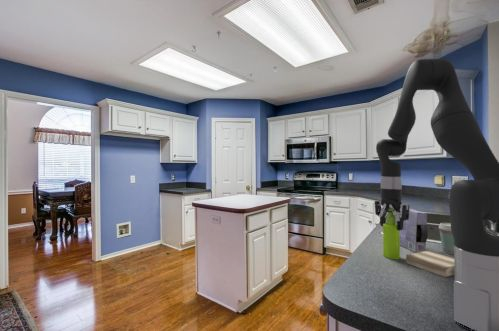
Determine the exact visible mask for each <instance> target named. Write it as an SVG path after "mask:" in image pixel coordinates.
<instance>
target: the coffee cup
mask: <svg viewBox="0 0 499 331" xmlns="http://www.w3.org/2000/svg"><path fill="white" fill-rule="evenodd" d="M438 230H439V236H440V241H441V249H442V252H443V253H444V254H448V255H453V256H454V238H453V235H452V231H451V222H440V223H439V226H438Z"/></svg>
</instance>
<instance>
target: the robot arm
mask: <svg viewBox="0 0 499 331" xmlns="http://www.w3.org/2000/svg"><path fill="white" fill-rule="evenodd" d="M406 72H407V73H406V75H405V77H404V82H403V85H402V89H401V93H400V97H399V100H398V104H397V107H396V108H397V109H396V112H395V114H394V117H393V120H392V122H391V124H390V126H389V128H388V132H387V135H388V137H389V138H390V139H389V138H388V139H387V138H382V139H380V140H378V142H377V143H376V146H375V150H376V154H377V157H378V161H379V164H380V169H381V170H380V174H381V175H380V198H381V200H375V201H374V213H375V215H376V216H378V217H379V224H380V227H383V223H386V216H387V215H388V214H389V212H391V213H393V214H394V215H395V216H396V218H397V220H398V221H397V230H399V231H400V230H402V229H403V221H404V220H408V219H409V209H411V208H410V205H409V204H404V203H402V200H403V198H402V197H403V193H402V192H403V190H402V189H403V187H402V186H403V185H402V184H403V183H402V181H403V180H402V166H401V163H400V162H396V161H393V160H391V159H390V157H400V156H403V155H404V154H405V153H406V151H407V150H406V149H407V142H408V139H409V135H410V133H411V132H412V129H413V128H414V125H415V124H416V120H417V118H416V117H417V115H416V110H415V107H414V103H413V102H414V97H415V94H416V93H417V91H434V92H435V93H436V95H437V97H438V98H437V99H438V104H437V106H436V107H435V109H434V111H433V113H432V115H431V118H430V126H431V127H430V128H431V130H432V133H433V135H434V138H435V141H436V142H437V143H438V144H437V145H439V147H440V148H441V149H443V151H445V152H446V153H448V155H450V156H451V157H452V158H454V159H455V160H456V161H458V162H459V163H460V164H462V165H463V166H464V167H465V168H466V170H467V171H468V173H470V175H471V177H472V179H461V180H457V181H455V182H454V183H453V184H452V185H451V187H450V190H449V194H448V204H449V206H448V207H449V216H450V217H449V219H450V223H451V231H452V235H453V238H454V255H453V256H454V257H453V258H454V275H453V277H454V281H453V321H454V320H455V321H457V322H459V323H461V324H463V325H465V326H467V327H469V328H471V329H475V330H477V331H499V236H497V235H493V234H491V233H489V232H488V231H487V230H486V228H485V225H484V224H485V223H484V221H495V222H496V221H498V222H499V160H498V159H497V158H496V156H495V154H494V152H493V151H492V149H491V147H490V146H489V144H488V142H487V139H486V137H485V136H484V134H483V132H482V130H481V127H480V125H479V123H478V121H477V119H476V117H475V115H474V113H473V112H472V109H471V108H470V106H469V104H468V102H467V99H466V97H465V96H464V93H463V91H462V89H461V85H460V81H459V78H458V76H457V72H456V69H455V67H454V65H453V63H452V62H451V60H449V59H446V58H423V59H416V60H414V61H413V62H412V63H411V64H410V66H409V68H408V70H407V71H406ZM389 208H390V209H393V210H394V211H389ZM400 208H401V209H402V212H401V210H400ZM397 212H398V213H397Z"/></svg>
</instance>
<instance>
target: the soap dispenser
mask: <svg viewBox="0 0 499 331" xmlns="http://www.w3.org/2000/svg"><path fill="white" fill-rule="evenodd" d="M389 211H394V210H393V209H390V208H389ZM385 217H386V223H383V226H382V255H383V257H384V258H387V259H389V260H390V259H391V260H400V259H401V256H400V255H401V248H400V231H399V230H397V224H396V216H394V215H393V213H391V212H388V214H386V216H385Z"/></svg>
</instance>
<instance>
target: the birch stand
mask: <svg viewBox="0 0 499 331" xmlns="http://www.w3.org/2000/svg"><path fill="white" fill-rule="evenodd" d="M405 260H406V262H405V263H406V264H407V265H408V264H409V265H411V266H414V267H417V268H419V269H422V270H424V271H427V272H431V273H433V274H436V275H439V276H441V277H444V278H446V277H450V276H454V257H451V256H447V255H443V254H440V253H437V252H433V251H430V250H426V251H424V252H419V253H409V254H406V256H405Z"/></svg>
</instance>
